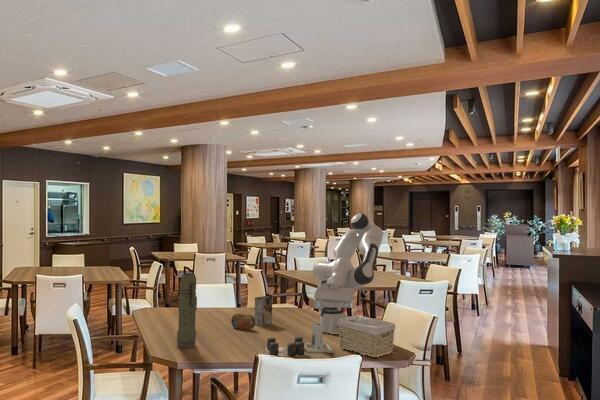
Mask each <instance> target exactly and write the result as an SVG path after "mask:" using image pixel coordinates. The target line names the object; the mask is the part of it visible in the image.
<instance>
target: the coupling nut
mask: <svg viewBox="0 0 600 400" xmlns="http://www.w3.org/2000/svg"><path fill="white" fill-rule="evenodd" d="M323 334H324V333H323V324H320V323H312V326H311V343H312V346H311V350H322V349H323V346H322V343H323V342H324V341H323V340H324V339H323V336H324V335H323Z"/></svg>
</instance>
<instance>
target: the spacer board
mask: <svg viewBox="0 0 600 400" xmlns="http://www.w3.org/2000/svg"><path fill="white" fill-rule="evenodd" d="M293 340H294V341H293V342H288V343H287V346H285V347H283V346H281V347H279V343H278V342H277V338H275V337H268V338H267V342H266V347H265V351H266V355H267V354H268V355H275V356H274V357H307V356H308V353H307V352H306V350H305V344H306V343H305V342H304V339H303V337H302V336H295V337H294V338H293Z"/></svg>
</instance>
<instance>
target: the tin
mask: <svg viewBox="0 0 600 400" xmlns="http://www.w3.org/2000/svg"><path fill="white" fill-rule="evenodd" d="M231 325H232V327H233V328H234V329H236V328H237V329H236V330H243V329H244V330H243V331H250V330H252V329H254V327H255V326H256V325H255V316H253V315H252V314H244V313H235V314H234V315H232V317H231Z"/></svg>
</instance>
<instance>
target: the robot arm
mask: <svg viewBox="0 0 600 400" xmlns="http://www.w3.org/2000/svg"><path fill="white" fill-rule="evenodd" d="M350 219H351V220H350V225H351V227H352V228H351V229H348V230H346V232H345V233H344V234H343V235H342V237H340V239H339V241H338V242H337V243H336V246H335V247H334V249H333V256H334V260H332V261H325V260H323V261H317V262H315V264H314V265H313V268H312V273H313V276H314V277H315V279H316V281H317V282H318V286H317V288H316V290H315V291H314V295H313V298H314V300H315V302H318V303H319V309H320V310H319V315H320V318H319V319H320V320H319V324H323V332H328V333H339V325H338V320H339V319H342V318H346V317H349V316H348V315H347V314H346V311H347V308H346V307H344V306H345V304H346V305H351V304H353V300H354V294H355V291H356V290H357V289H359V288H361V287H363V286H365V285H367V284H370V283H372V282H373V280H374V278H375V277H374V276H375V275H374V274H375V271H374V270H375V265H376V263H377V258H378V255H379V251H380V250H379V249H380V246H381V244H382V241H383V236H384V233H383V229H382V228H381V227H379V226H378V225H376V224H375V223H374V222H373V221H372V220H371V219H370V218H369V217H368V215H366V214H365V213H362V212H358V213H356V214H355V215H353V216H352V218H350ZM357 249H358V250H359V252H360V253H361V255H362V256H363V260H362V263H361V264H359V265H357V266H356V267H354V265H353V263H352V261H351V259H352V258H353V255H354V254H355V253H356V251H357Z"/></svg>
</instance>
